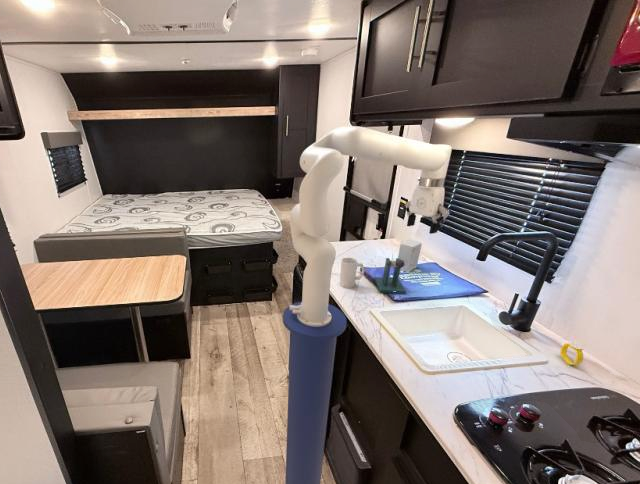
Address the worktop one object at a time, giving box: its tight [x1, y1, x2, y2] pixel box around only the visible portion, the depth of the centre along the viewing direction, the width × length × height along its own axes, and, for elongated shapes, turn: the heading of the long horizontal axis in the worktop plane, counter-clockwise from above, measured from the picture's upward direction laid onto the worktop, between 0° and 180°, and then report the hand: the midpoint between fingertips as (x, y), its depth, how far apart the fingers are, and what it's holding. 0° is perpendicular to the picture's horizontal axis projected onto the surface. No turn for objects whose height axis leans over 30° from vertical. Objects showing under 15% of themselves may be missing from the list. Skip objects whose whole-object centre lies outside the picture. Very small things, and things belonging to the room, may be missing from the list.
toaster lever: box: [390, 260, 405, 268], centre depth 127 cm, size 12×3×3 cm, turn 169°
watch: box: [560, 342, 584, 366], centre depth 91 cm, size 6×3×6 cm, turn 169°
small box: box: [397, 239, 423, 273], centre depth 150 cm, size 8×6×13 cm
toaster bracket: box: [373, 257, 406, 295], centre depth 134 cm, size 12×10×13 cm
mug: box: [339, 256, 365, 289], centre depth 137 cm, size 10×7×12 cm, turn 82°
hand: (421, 229), depth 116 cm, fingers open, 9 cm apart
